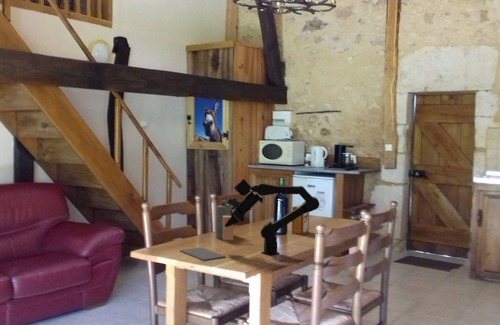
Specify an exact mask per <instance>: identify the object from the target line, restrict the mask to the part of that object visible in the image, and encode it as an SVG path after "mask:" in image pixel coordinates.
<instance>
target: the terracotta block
mask: <svg viewBox="0 0 500 325" xmlns="http://www.w3.org/2000/svg"><path fill="white" fill-rule="evenodd" d="M230 218H231V216H223V239H222V241H234V224H233V225H231V226H228V227H225V224H226V223H227V222H228V220H229V219H230Z"/></svg>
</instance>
